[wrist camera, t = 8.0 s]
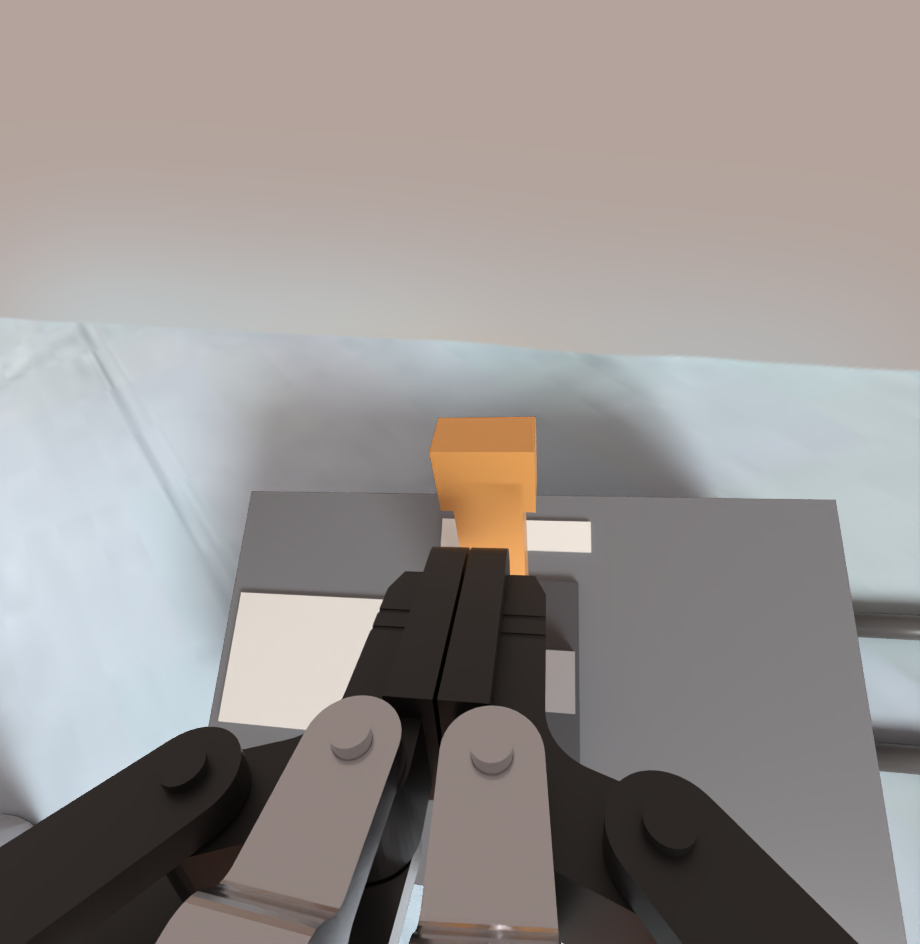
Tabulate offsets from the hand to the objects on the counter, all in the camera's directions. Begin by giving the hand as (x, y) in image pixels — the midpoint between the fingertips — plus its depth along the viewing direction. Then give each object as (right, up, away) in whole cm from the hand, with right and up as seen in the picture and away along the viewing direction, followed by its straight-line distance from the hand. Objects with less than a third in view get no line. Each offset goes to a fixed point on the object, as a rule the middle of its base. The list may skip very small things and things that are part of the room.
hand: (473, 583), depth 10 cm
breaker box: (+11, -9, +17) cm, 22 cm away
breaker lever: (+1, -5, +8) cm, 10 cm away
